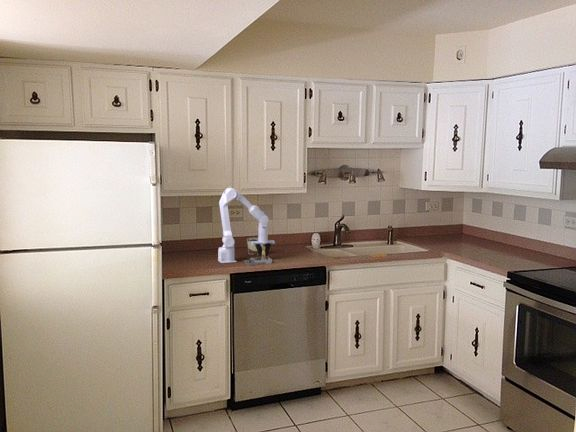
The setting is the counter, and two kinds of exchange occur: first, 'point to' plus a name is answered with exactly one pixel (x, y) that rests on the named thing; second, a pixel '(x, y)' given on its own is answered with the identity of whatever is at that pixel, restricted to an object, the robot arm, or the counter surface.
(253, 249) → the food container
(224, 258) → the robot arm
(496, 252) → the counter surface
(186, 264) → the counter surface
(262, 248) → the brass pin
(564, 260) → the counter surface
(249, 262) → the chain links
